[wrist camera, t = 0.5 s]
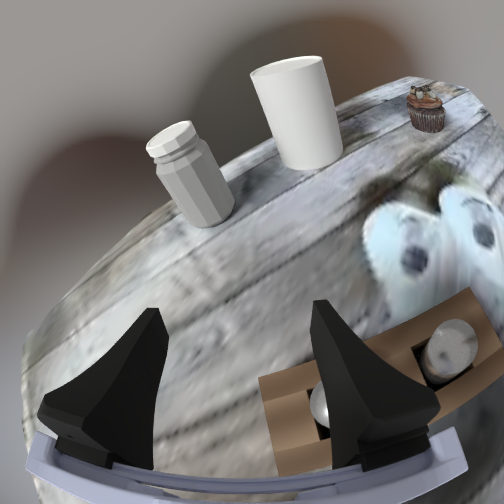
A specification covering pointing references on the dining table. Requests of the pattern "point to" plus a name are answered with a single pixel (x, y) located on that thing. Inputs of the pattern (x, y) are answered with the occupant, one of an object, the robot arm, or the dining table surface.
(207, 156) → the jar
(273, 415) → the walnut frame
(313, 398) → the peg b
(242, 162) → the dining table surface
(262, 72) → the canister
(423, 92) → the cupcake
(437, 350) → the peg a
